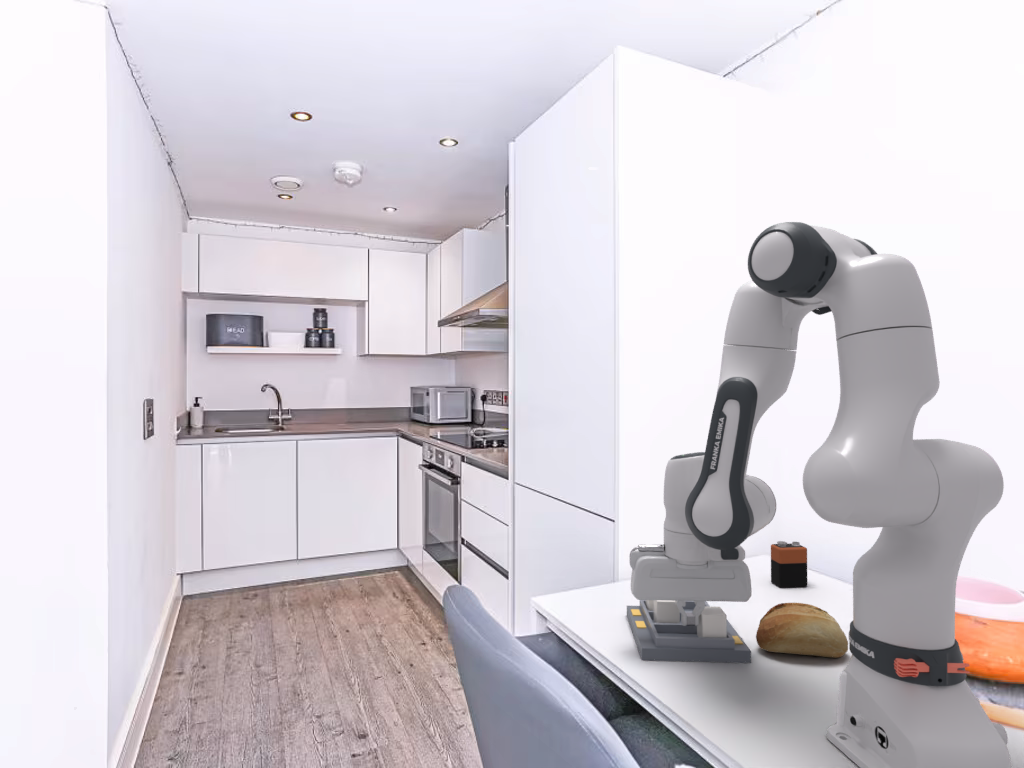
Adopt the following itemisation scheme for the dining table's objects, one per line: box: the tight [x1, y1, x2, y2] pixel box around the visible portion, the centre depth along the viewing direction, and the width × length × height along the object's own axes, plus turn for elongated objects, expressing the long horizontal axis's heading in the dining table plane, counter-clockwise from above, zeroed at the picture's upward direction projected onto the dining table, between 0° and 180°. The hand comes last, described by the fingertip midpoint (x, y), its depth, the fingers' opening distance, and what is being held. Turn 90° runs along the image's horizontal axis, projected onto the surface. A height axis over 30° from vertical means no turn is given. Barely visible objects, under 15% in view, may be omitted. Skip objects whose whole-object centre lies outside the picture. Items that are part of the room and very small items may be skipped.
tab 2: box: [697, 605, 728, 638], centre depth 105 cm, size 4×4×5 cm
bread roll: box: [755, 602, 849, 659], centre depth 105 cm, size 10×15×8 cm, turn 86°
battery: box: [770, 540, 808, 589], centre depth 140 cm, size 4×7×10 cm, turn 96°
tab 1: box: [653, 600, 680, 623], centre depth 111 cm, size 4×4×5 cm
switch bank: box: [626, 600, 752, 664], centre depth 111 cm, size 20×18×4 cm
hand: (689, 624), depth 105 cm, fingers closed
